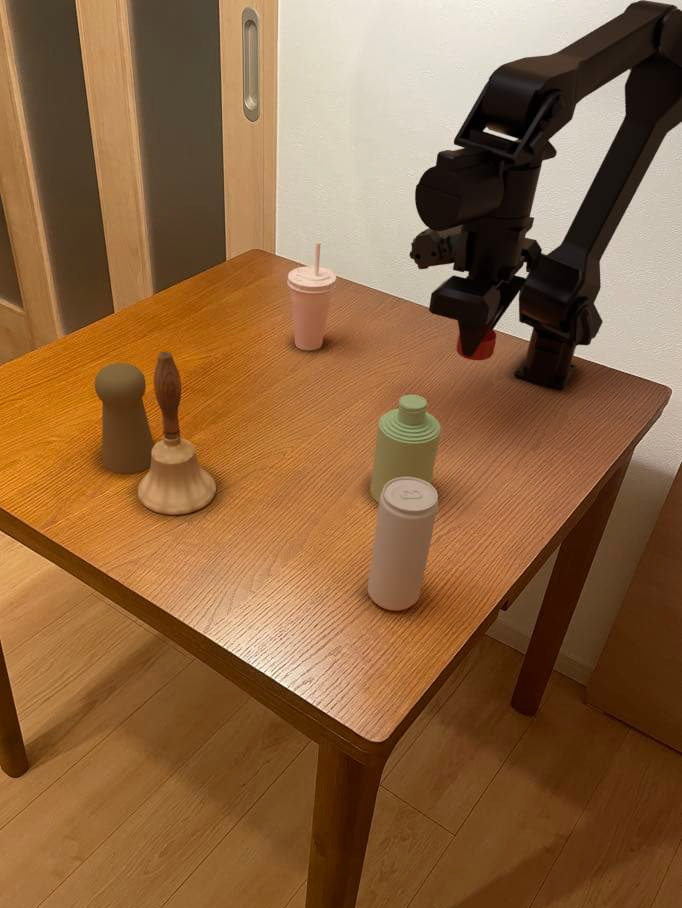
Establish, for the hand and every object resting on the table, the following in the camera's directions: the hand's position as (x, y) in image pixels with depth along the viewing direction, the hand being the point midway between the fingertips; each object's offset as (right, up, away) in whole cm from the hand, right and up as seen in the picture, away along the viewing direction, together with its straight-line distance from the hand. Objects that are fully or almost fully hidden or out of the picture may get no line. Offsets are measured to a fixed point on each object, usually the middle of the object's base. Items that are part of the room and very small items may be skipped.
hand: (473, 347), depth 92 cm
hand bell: (-33, -17, -7) cm, 38 cm away
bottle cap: (0, +1, -1) cm, 2 cm away
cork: (-39, -13, -3) cm, 41 cm away
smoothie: (-18, +5, +18) cm, 26 cm away
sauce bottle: (-10, -17, -6) cm, 20 cm away
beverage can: (-12, -27, -18) cm, 35 cm away
